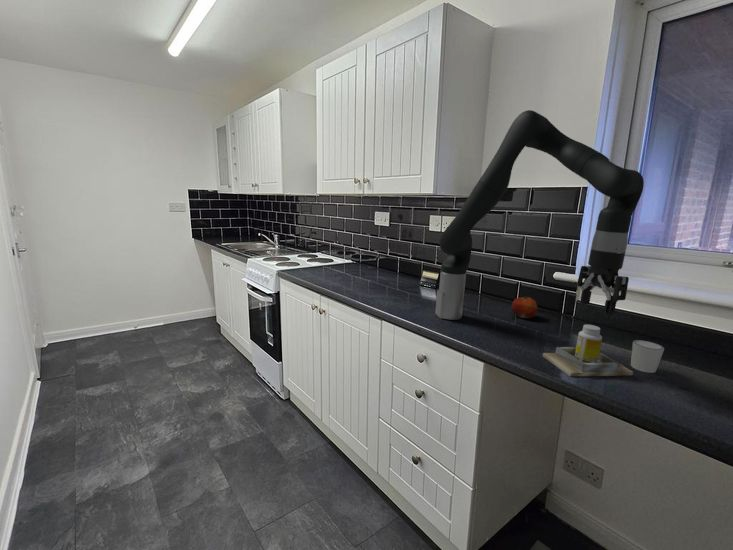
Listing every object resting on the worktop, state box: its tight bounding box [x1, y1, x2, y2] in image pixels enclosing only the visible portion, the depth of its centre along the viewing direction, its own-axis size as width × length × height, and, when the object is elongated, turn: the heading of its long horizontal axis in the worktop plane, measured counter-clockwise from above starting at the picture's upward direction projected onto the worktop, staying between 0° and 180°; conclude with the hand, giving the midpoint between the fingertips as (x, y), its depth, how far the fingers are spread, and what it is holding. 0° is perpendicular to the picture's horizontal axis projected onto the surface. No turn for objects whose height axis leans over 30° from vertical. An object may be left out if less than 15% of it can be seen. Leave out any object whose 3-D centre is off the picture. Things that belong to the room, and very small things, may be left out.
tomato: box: [511, 296, 538, 319], centre depth 139 cm, size 9×9×8 cm
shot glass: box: [630, 339, 665, 374], centre depth 99 cm, size 7×7×7 cm
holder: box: [542, 346, 634, 377], centre depth 99 cm, size 18×12×3 cm, turn 97°
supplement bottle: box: [575, 324, 603, 363], centre depth 99 cm, size 6×6×10 cm
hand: (595, 308), depth 96 cm, fingers open, 8 cm apart
